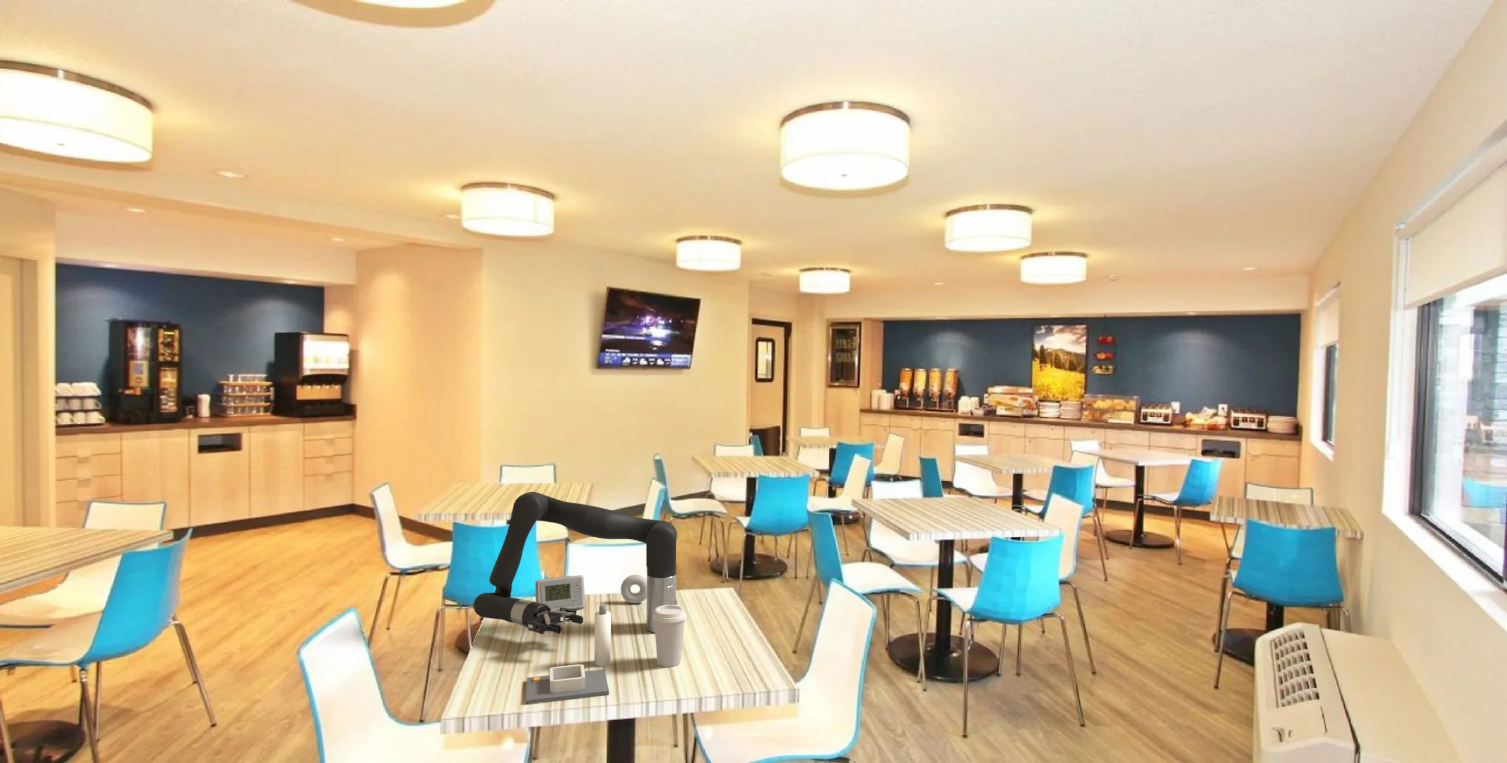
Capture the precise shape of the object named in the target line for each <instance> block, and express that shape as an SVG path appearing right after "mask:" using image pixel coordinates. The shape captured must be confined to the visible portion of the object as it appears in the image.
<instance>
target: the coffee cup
mask: <svg viewBox="0 0 1507 763" xmlns="http://www.w3.org/2000/svg"><path fill="white" fill-rule="evenodd" d="M652 618H653V620H654V625H655V633H654V636H655V648H656V660H657V662H656V663H657V665H658V666H659V667H664V668H672V667H673V668H674V667H677V666H679V665H680V664H681V663H682V660H681V659H682V651H683V643H684V629H685V620H686V619H687V613H686V611H685V609H684V607H683V606H680V605H678V604H677V605H662V606H659V607H657V608H656V609H655V612H654V613H653V616H652Z"/></svg>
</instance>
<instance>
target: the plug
mask: <svg viewBox="0 0 1507 763" xmlns="http://www.w3.org/2000/svg"><path fill="white" fill-rule="evenodd" d="M598 607H599V608H598V609H599V610H598V611H596V612H595V613H594V655H593V657H594V658H593V659H594V666H596V667H601V668H603V667H607V666H609V665H611V663H612V662H611V661H612V660H611V659H612V658H611V653H612V650H611V648H612V646H611V645H612V644H611V643H612V642H611V641H612V639H611V638H612V613H611V611H609V610H608V609H607V605H605V604H603V605H600V606H598Z"/></svg>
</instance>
